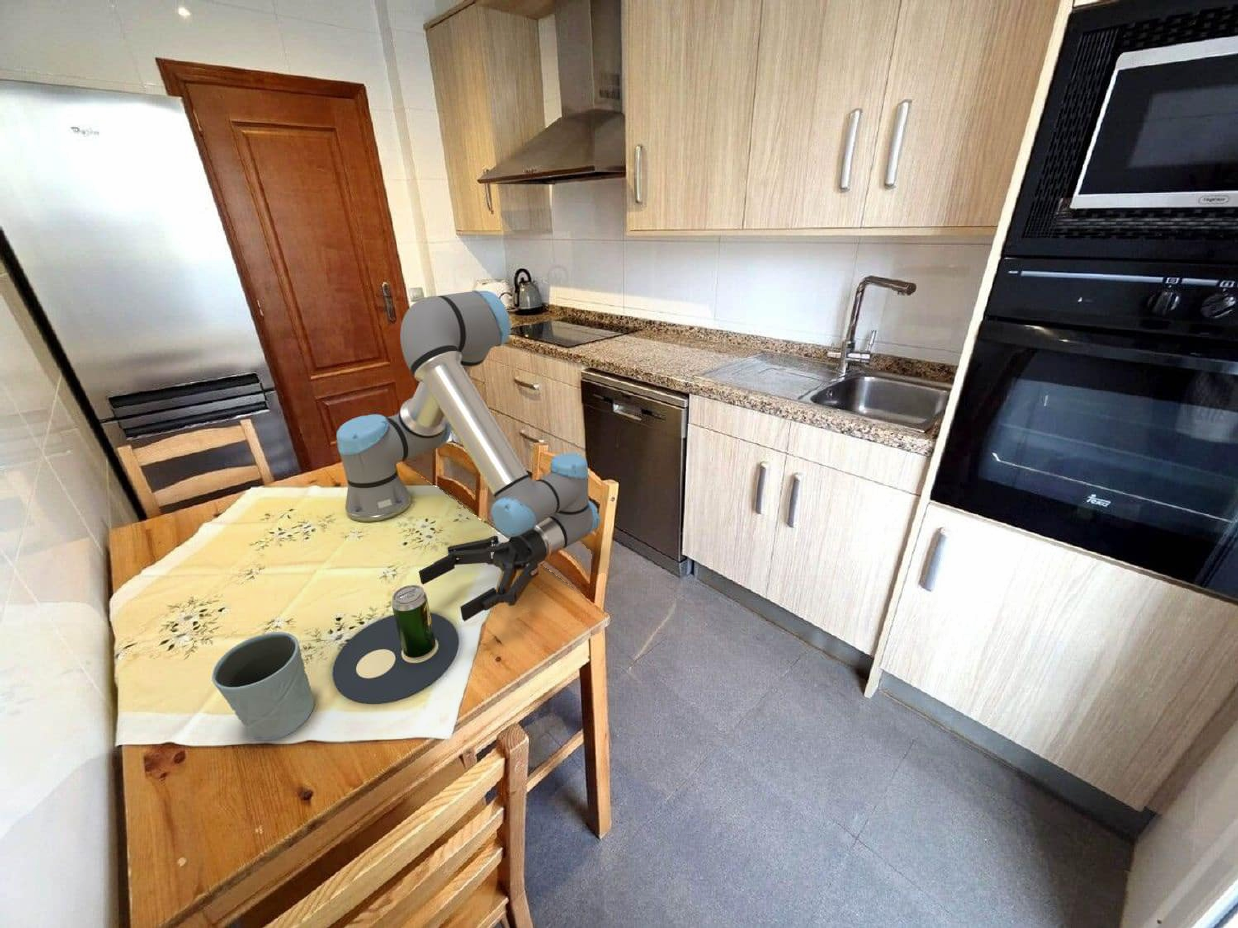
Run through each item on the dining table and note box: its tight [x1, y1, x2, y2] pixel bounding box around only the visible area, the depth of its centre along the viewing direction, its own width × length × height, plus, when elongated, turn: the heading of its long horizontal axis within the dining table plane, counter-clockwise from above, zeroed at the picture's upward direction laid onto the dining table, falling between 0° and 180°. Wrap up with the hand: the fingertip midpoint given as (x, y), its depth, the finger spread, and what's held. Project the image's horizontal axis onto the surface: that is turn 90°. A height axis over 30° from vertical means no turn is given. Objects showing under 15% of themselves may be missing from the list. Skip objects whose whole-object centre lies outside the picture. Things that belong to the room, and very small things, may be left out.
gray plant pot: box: [211, 631, 315, 742], centre depth 73 cm, size 10×10×12 cm
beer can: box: [391, 584, 436, 660], centre depth 84 cm, size 5×5×12 cm
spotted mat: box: [332, 612, 459, 705], centre depth 86 cm, size 20×20×1 cm
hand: (440, 595), depth 87 cm, fingers open, 13 cm apart
